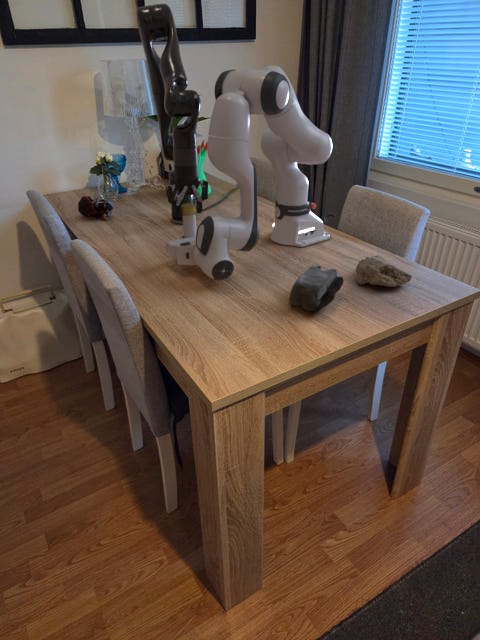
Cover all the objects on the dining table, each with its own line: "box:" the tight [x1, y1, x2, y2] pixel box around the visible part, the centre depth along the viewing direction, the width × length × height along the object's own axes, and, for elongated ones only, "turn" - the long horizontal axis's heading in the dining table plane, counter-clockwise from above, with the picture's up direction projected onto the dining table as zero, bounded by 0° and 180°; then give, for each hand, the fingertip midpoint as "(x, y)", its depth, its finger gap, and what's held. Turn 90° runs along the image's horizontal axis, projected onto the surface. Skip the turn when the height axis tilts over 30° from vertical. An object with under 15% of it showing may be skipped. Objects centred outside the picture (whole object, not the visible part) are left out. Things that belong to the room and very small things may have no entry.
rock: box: [288, 265, 345, 313], centre depth 125 cm, size 18×11×8 cm, turn 152°
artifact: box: [355, 255, 413, 288], centre depth 137 cm, size 18×7×15 cm
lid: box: [181, 203, 197, 215], centre depth 145 cm, size 5×5×2 cm
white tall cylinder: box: [182, 212, 197, 238], centre depth 150 cm, size 4×4×17 cm
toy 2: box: [172, 139, 212, 200], centre depth 210 cm, size 20×20×25 cm
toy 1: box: [77, 195, 115, 221], centre depth 185 cm, size 12×9×15 cm
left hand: (188, 214), depth 146 cm, fingers open, 6 cm apart
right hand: (189, 236), depth 151 cm, fingers closed on white tall cylinder, 4 cm apart
